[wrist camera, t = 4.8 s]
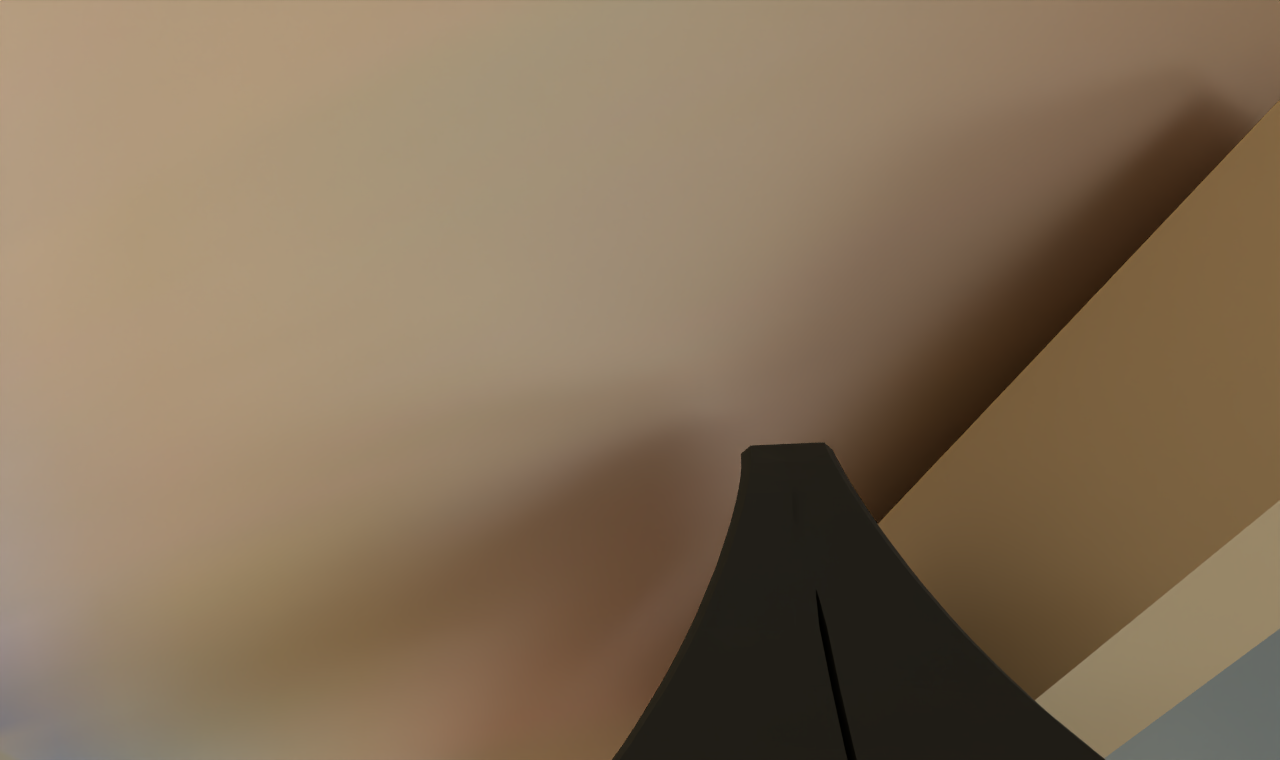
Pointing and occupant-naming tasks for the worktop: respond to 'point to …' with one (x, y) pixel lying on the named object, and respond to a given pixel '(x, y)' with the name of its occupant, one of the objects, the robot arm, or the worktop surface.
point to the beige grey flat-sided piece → (1135, 493)
